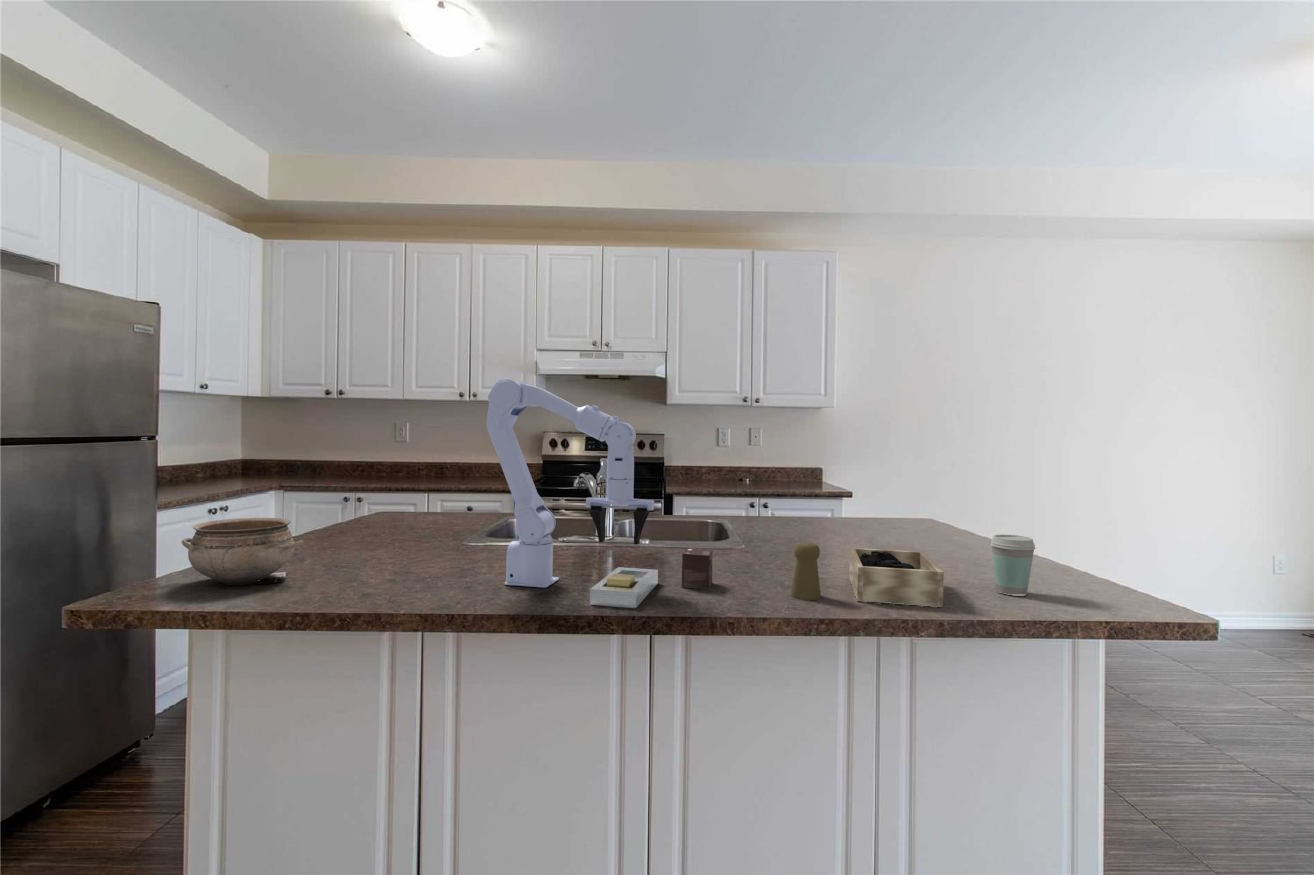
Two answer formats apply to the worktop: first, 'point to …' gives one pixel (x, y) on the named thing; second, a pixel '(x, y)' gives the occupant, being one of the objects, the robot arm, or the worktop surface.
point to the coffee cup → (1012, 562)
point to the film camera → (883, 560)
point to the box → (697, 568)
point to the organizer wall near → (900, 585)
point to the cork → (806, 572)
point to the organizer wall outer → (930, 565)
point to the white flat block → (624, 589)
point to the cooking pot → (240, 548)
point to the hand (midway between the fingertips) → (619, 542)
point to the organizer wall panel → (856, 574)
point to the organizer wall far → (897, 555)
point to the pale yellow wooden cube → (621, 581)
